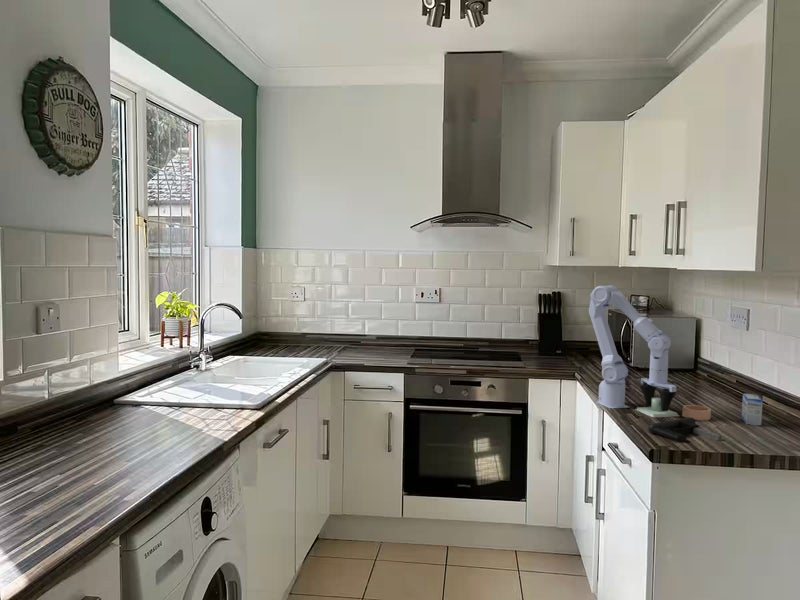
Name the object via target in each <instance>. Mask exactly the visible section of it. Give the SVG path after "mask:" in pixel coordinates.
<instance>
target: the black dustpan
mask: <svg viewBox="0 0 800 600" xmlns="http://www.w3.org/2000/svg"><path fill="white" fill-rule="evenodd" d="M648 432H649V433H650V434H652V433H655V435H658V436H660V435H661V436H660V437H663V436H664V437H663V438H666V439H668V438H669V440H671V439H672V441H674V440H675V441H674V442H677V441H678V443H683V442H686V439H687V434H688V435H693V434H695V435H697V436H701V437H703V436H704V437H703V438H706V439H707V438H708V439H710V438H711V439H710V440H714V441H717V440H718V441H721V440H722V437H723V436H722V435H720V434H718V433H715V432H712V431H709V430H705V429H703V428H700V427H699V424H697V423H696V420H695V419H694V418H690V417H687V418H686V417H684V418H677V419H672V420H668V421H663V422H662V421H661V422H656V423H652V424H649V425H648ZM692 433H693V434H692Z"/></svg>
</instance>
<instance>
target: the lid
mask: <svg viewBox="0 0 800 600" xmlns="http://www.w3.org/2000/svg"><path fill="white" fill-rule="evenodd" d="M636 409H637V410H639V411H641V412H640V413H642V412H644V413H646V414H648V415H647V416H649V415H651V416H653V417H652V418H657V417H656V416H671V417H679V416H678V415H679V414H678V412H676V411H673V410H670V409H668V411H662V409H661V397H654V398H652V404H651V406H643V407H641V406H640V407H639V406H638V407H636ZM637 410H636V411H637ZM639 411H638V412H639ZM644 413H643V414H644ZM646 414H645V415H646ZM651 416H650V417H651Z"/></svg>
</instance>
